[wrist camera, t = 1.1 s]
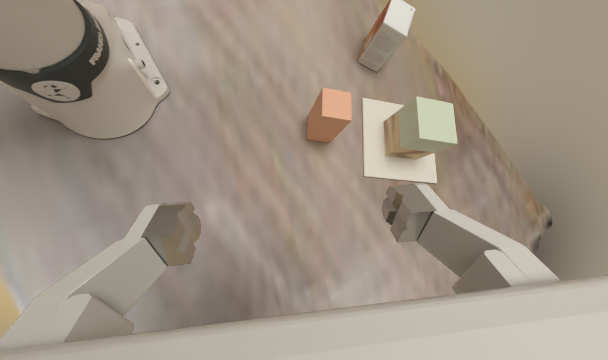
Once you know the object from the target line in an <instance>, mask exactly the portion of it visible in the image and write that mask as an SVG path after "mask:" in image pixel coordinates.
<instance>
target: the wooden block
mask: <svg viewBox="0 0 608 360" xmlns="http://www.w3.org/2000/svg"><path fill="white" fill-rule="evenodd" d="M384 145H385V156H392V157H400V158H408V159H416V160H417V159H419V158H422V157H425V156H427V155H430V154H432V153H434V152H427V151H419V150H412V149H405V148H400V134H399V116H398V111H397V112H395V113H394V114H393V115H391V116H390V117H389V118H388V119H386V120H385V121H384Z"/></svg>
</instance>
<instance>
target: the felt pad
mask: <svg viewBox="0 0 608 360" xmlns="http://www.w3.org/2000/svg"><path fill="white" fill-rule="evenodd" d="M403 106H404V105H399V104H393V103H388V102H383V101H377V100H372V99H367V98H362V127H363V176H364V177H374V178H384V179H394V180H404V181H414V182H425V183H435V184H436V183H437V177H436V166H435V155H434V153H432V154H430V155H427V156H425V157H422V158H419V159H417V160H416V159H408V158H400V157H392V156H385V145H384V121H385V120H386V119H388V118H389V117H390V116H391V115H393V114H394V113H395V112H397V111H398V110H399V109H401V108H402V107H403Z"/></svg>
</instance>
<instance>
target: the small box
mask: <svg viewBox="0 0 608 360" xmlns="http://www.w3.org/2000/svg"><path fill="white" fill-rule="evenodd" d="M415 10H416V9H415V8H413V7H412V6H410V5H409V4H407V3H406V2H404V1H402V0H389V2H388V3H387V5H386V7H385V8H384V10H383V11H382V13H381V15H380V16H379V18H378V19H377V21H376V22H375V24H374V26H373V27H372V29H371V30H370V32H369V34H368V35H367V37H366V39H365V42H364V45H363V48H362V50H361V53H360V55H359V58H358V61H357V62H359V63H361V64H363V65H365V66H366V67H368V68H370V69H372V70H373V71H375V72H378V70H379V69H380V68H381V67H382V66H383V65H384V63H385V62H386V61H387V60H388V59H389V58H390V56H391V55H392V54H393V53H394V52H395V50H396V49H397V48H398V47H399V46H400V45H401V43H402V42H403V41H404V40H405V39H406V37H407V35H408V31H409V28H410V24H411V21H412V17H413V15H414V12H415Z"/></svg>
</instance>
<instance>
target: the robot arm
mask: <svg viewBox="0 0 608 360" xmlns="http://www.w3.org/2000/svg"><path fill="white" fill-rule="evenodd" d="M0 83H1V84H2V85H4V86H5V87H7V88H8V89H10V90H11V91H13V92H14V93H16V94H17V95H19V96H20V97H22V98H23V99H25V100H26V101H28V102H29V103H31V108H32V109H33V110H34V111H35V112H37V113H38V114H40V115H42V116H45V117H48V118H51V119H55V120H58V121H60V122H61V123H62V124H64V125H65V126H66V127H68V128H69V129H71V130H72V131H74V132H76V133H78V134H81V135H83V136H87V137H91V138H99V139H108V138H116V137H121V136H124V135H127V134H129V133H132V132H134V131H135V130H137V129H139V128H140V127H141V126H143V125H144V124H145V123H146V122H147V121H148V120H149V118H150V117H151V115H152V114H153V112H154V110H155V108H156V106H157V104H158V103H159V102H160V101H161V100H163V99H164V98H165V97H166V96H167V95H168V94H169V87H168V85H167V84H166V82H165V80H164V78H163V76H162V75H161V73H160V71H159V69H158V67H157V65H156V64H155V62H154V60H153V58H152V56H151V55H150V53H149V51H148V49H147V47H146V45H145V44H144V42H143V40H142V38H141V36H140V35H139V33H138V31H137V29H136V28H135V26H134V25H133V24H132V23H131V22H130V21H127V20H124V19H121V18H117V17H112V16H111V14H110V13H109V11H108V10H107V9H106V8H105V7H103V6H101V5H99V4H97V3H94V2H90V1H85V0H0ZM156 83H159V84H156ZM386 194H387V196H388V197H387V198H386V199H385V200H384V201H383V205H382V213H383V216H384V218H385V220H386V222H388V223H389V224H391V225H392V226H391V229H390V230H391V232H392V234H393V235H394V237H395V239H396V241H397V243H399V242H413V241H417V243H418V244H420V245H421V246H422V247H423V248H425V249H426V250H427V251H428V252H429V253H431V254H432V255H433V256H434V257H436V258H437V259H438V260H439V261H441V262H442V263H443V264H444V265H446V266H447V267H448V268H449V269H450V270H452V271H453V272H454V273H455V274H457V275H458V276H459V277H460V278H459V279H458V280H457V281H456V282H455V283H454V285H453V287H452V288H453V290H454V291H455V293H456V294H451V295H443V296H435V297H427V298H419V299H410V300H402V301H394V302H386V303H378V304H370V305H362V306H354V307H346V308H338V309H330V310H322V311H314V312H306V313H298V314H290V315H282V316H274V317H266V318H258V319H250V320H242V321H234V322H226V323H218V324H210V325H202V326H194V327H186V328H178V329H170V330H162V331H154V332H146V333H138V334H132V331H133V329H134V325H133V323H131V322H130V321H129V320H127V319H126V318H124V317H123V316H124V315H125V314H126V313H127V311H128V310H129V309H130V308H131V307H132V306H133V305H134V304H135V303H136V302H137V301H138V299H139V298H140V297H141V296H142V295H143V294H144V293H145V292H146V291H147V290H148V289H149V287H150V286H151V285H152V284H153V283H154V282H155V281H156V280H157V279H158V278H159V277H160V275H161V274H162V273H163V272H164V271H165V270H166V269H167V268H168V267H167V266H175V265H183V264H191V261H192V258H193V255H194V252H195V249H196V248H195V246H194V243H195V242H196V241H197V240H198V239H199V236H200V233H201V223H200V219H199V217H198V216H197V215H196V214H194V213H193V211H194V209H195V208H194V207H193V205H192V203H191V202H177V203H162V204H149V205H147V206H145V207H144V209H143V210H142V212H141V213H140V215H139V217H138V218H137V220H136V221H135V223H134V224H133V226H132V227H131V229H130V230H129V232H128V233H127V235H126V236H125V238H124V239H122V240H118V241H116V242H115V243H114V244H112V245H111V246H109V247H108V248H106V249H105V250H103V251H102V252H101V253H99V254H98V255H96V256H95V257H93V258H92V259H90V260H89V261H87V262H86V263H85V264H83V265H82V266H80V267H79V268H77V269H76V270H74V271H73V272H71V273H70V274H69V275H67V276H66V277H64V278H63V279H61V280H60V281H58V282H57V283H55V284H54V285H53V286H51V287H50V288H48V289H47V290H45V291H44V292H42V293H41V294H39V295H38V296H37V297H35V298H34V299H33V300H32V302H31V303H30V304H29V305H28V306H27V308H26V309H25V310H24V311H23V312H22V314H21V315H20V316H19V317H18V319H17V320H16V321H15V322H14V323H13V325H12V326H11V327H10V328H9V329H8V331H7V332H6V333H5V334H4V336H3V337H2V338H1V339H0V360H608V275H604V276H595V277H587V278H579V279H572V280H563V281H561V280H560V279H558V277H557V276H555V275H554V274H553V273H552V272H551V271H550V270H549V269H548V268H547V267H546V266H545V265H544V264H543V263H542V262H541V261H540V260H538V258H537V257H535V256H534V255H533V254H532V253H531V252H530V251H529V250H528V249H527V248H526V247H525V246H524V245H522V244H520V243H518V242H516V241H514V240H512V239H510V238H508V237H506V236H504V235H502V234H500V233H498V232H496V231H494V230H492V229H490V228H488V227H486V226H484V225H482V224H480V223H478V222H477V221H475V220H473V219H471V218H469V217H467V216H465V215H463V214H461V213H459V212H457V211H455V210H449V208H448V207H447V206H446V205H445V204H444V203H443V202H442V201H441V199H440V198H439V197H438V196H437V195H436V194H435V193H434V191H433V190H432V189H431V188H430V187H429V186H428V185H427V184H425V183H419V184H409V185H397V186H389V188H388V189H387V192H386Z"/></svg>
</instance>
